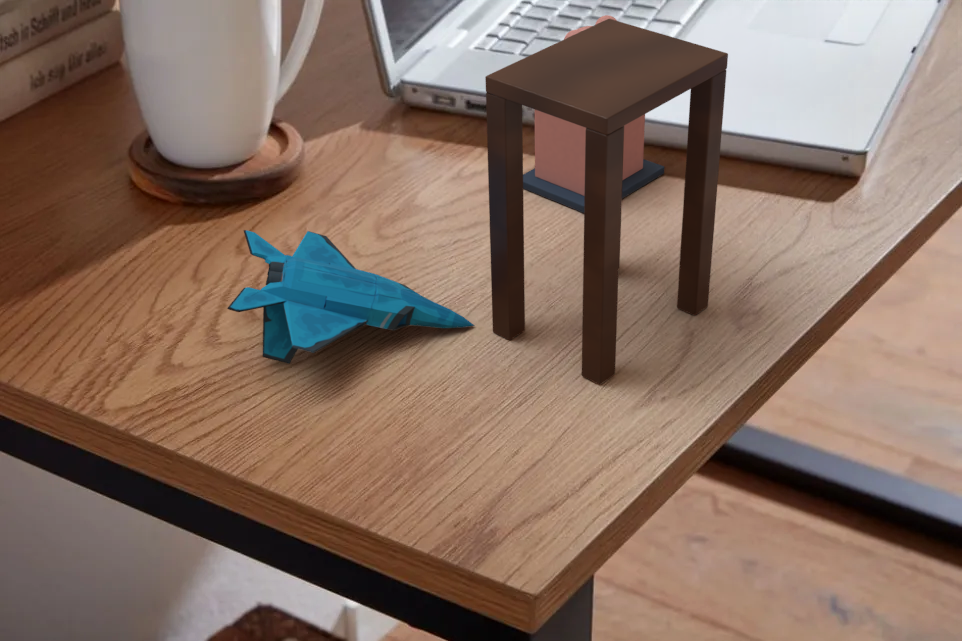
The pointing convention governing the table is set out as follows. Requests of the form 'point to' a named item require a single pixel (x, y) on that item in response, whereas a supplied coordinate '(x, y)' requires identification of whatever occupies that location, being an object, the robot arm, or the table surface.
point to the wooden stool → (603, 164)
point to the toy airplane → (328, 299)
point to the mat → (577, 200)
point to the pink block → (578, 146)
